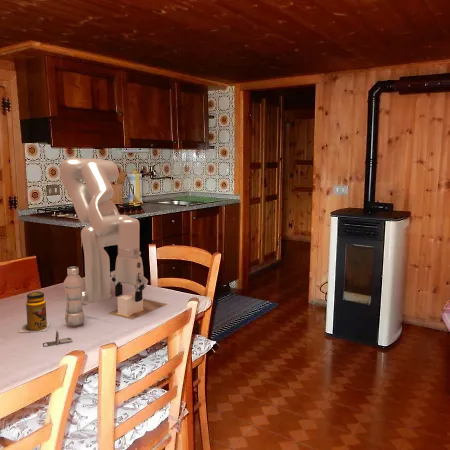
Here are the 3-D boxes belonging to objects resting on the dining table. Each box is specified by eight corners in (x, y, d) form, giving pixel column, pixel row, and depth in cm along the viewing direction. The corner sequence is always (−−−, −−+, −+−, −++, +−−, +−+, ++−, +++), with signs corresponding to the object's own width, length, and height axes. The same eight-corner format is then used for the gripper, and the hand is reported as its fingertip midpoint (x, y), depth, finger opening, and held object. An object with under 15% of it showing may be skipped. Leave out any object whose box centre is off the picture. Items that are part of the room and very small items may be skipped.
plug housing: (127, 316, 155) (126, 299, 154) (117, 313, 157) (117, 297, 157) (142, 309, 162) (142, 293, 162) (133, 307, 165) (133, 291, 164)
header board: (132, 323, 153) (132, 312, 152) (107, 317, 159) (107, 306, 158) (168, 307, 170) (168, 297, 169) (144, 302, 176) (144, 292, 175)
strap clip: (71, 339, 139) (71, 327, 138) (72, 343, 136) (72, 330, 136) (42, 344, 135) (41, 331, 135) (43, 348, 132) (42, 334, 132)
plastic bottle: (66, 329, 147) (64, 271, 144) (63, 323, 152) (61, 266, 150) (86, 326, 150) (84, 269, 147) (83, 320, 155) (81, 265, 153)
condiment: (46, 331, 145) (44, 296, 144) (18, 333, 143) (16, 297, 142) (49, 323, 152) (48, 289, 151) (23, 325, 150) (21, 291, 149)
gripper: (154, 254, 156) (153, 300, 159) (118, 247, 165) (118, 291, 168) (140, 258, 150) (139, 306, 153) (103, 250, 158) (103, 296, 161)
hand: (128, 298), depth 160 cm, fingers open, 9 cm apart
